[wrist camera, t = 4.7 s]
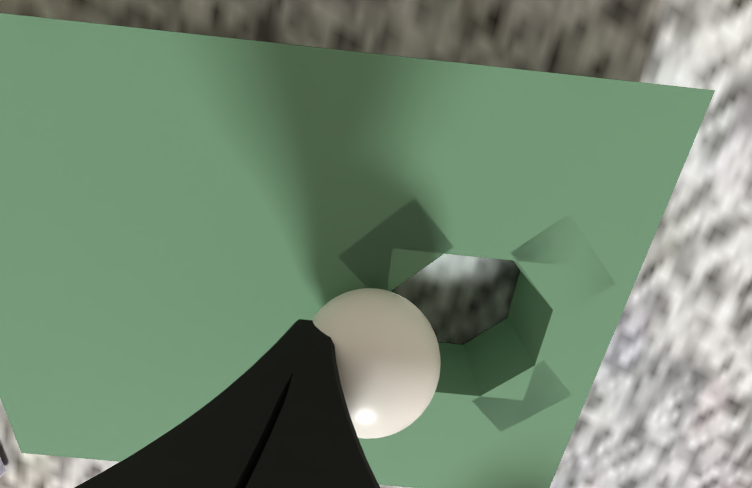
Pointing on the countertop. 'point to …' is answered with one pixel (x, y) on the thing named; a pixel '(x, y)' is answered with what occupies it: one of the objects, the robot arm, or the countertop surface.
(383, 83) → the block
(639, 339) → the countertop surface
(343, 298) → the ball
